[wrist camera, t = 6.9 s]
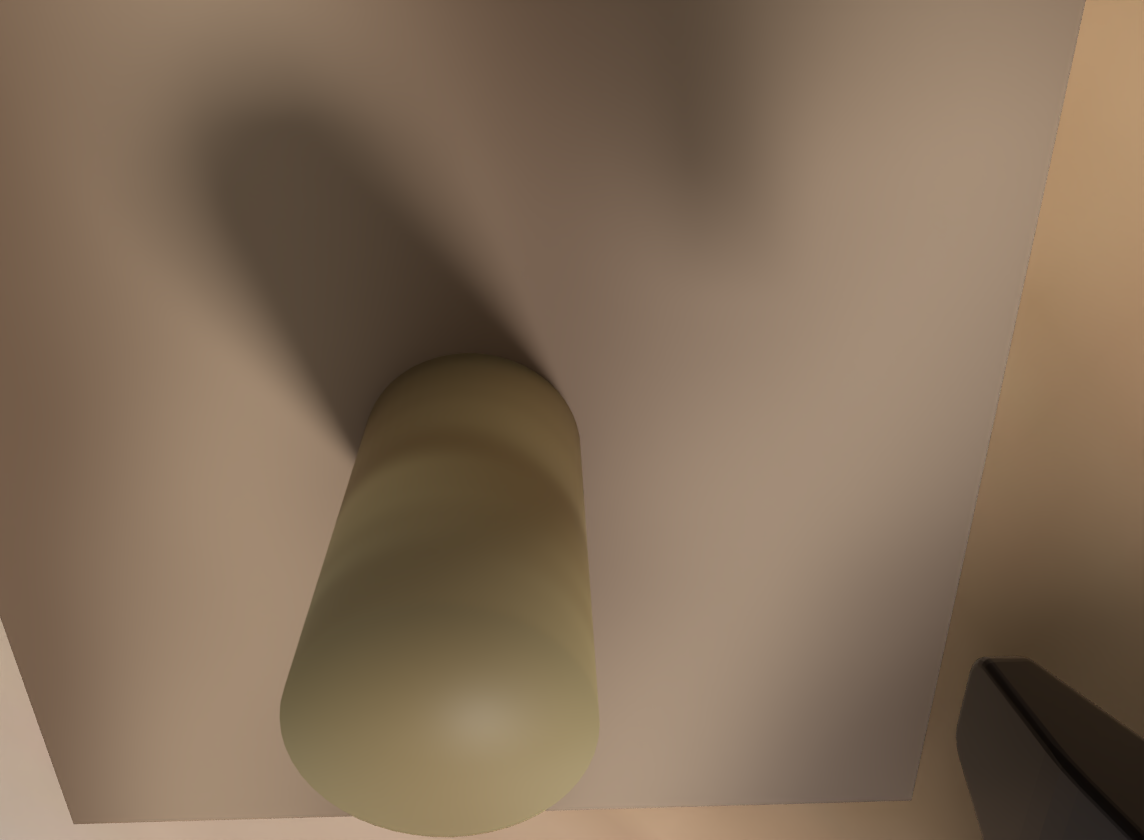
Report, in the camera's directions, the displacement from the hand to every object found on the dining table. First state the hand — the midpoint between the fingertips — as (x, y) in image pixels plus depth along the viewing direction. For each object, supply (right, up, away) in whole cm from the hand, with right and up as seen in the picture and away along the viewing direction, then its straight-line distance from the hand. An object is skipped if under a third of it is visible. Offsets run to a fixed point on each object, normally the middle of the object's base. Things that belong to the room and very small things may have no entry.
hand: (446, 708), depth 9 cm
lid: (0, +3, +5) cm, 5 cm away
